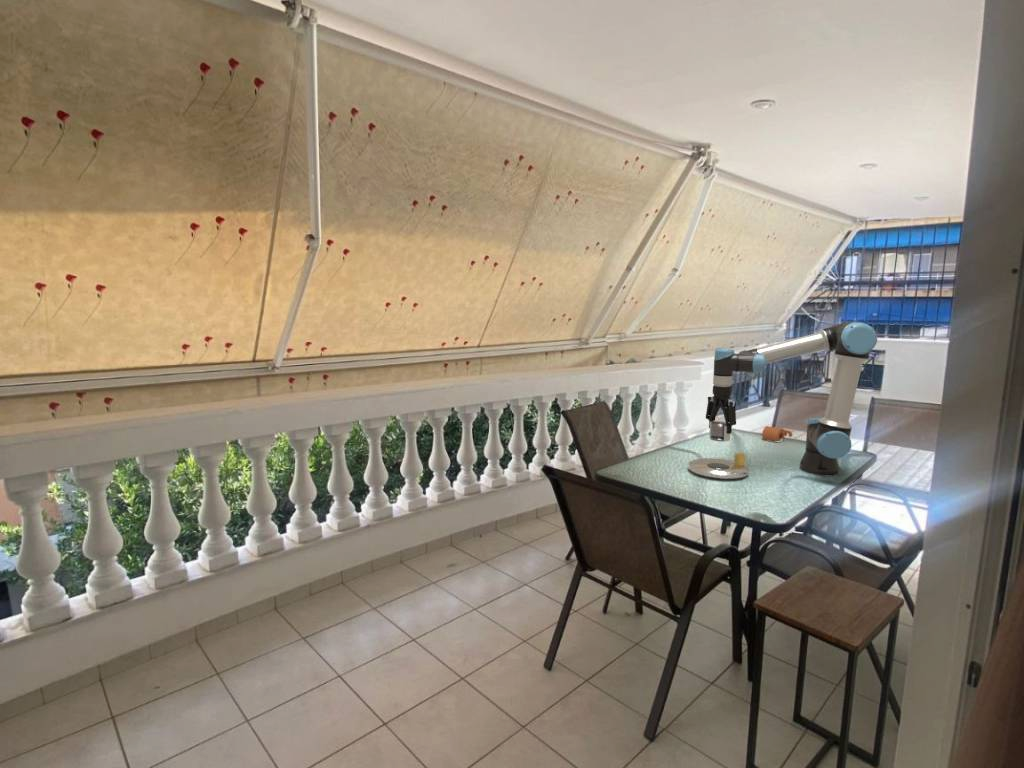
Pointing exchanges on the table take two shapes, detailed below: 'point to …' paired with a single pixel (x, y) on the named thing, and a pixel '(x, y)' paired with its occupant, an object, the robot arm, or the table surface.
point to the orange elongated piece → (775, 433)
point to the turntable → (720, 467)
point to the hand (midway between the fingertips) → (719, 438)
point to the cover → (717, 431)
